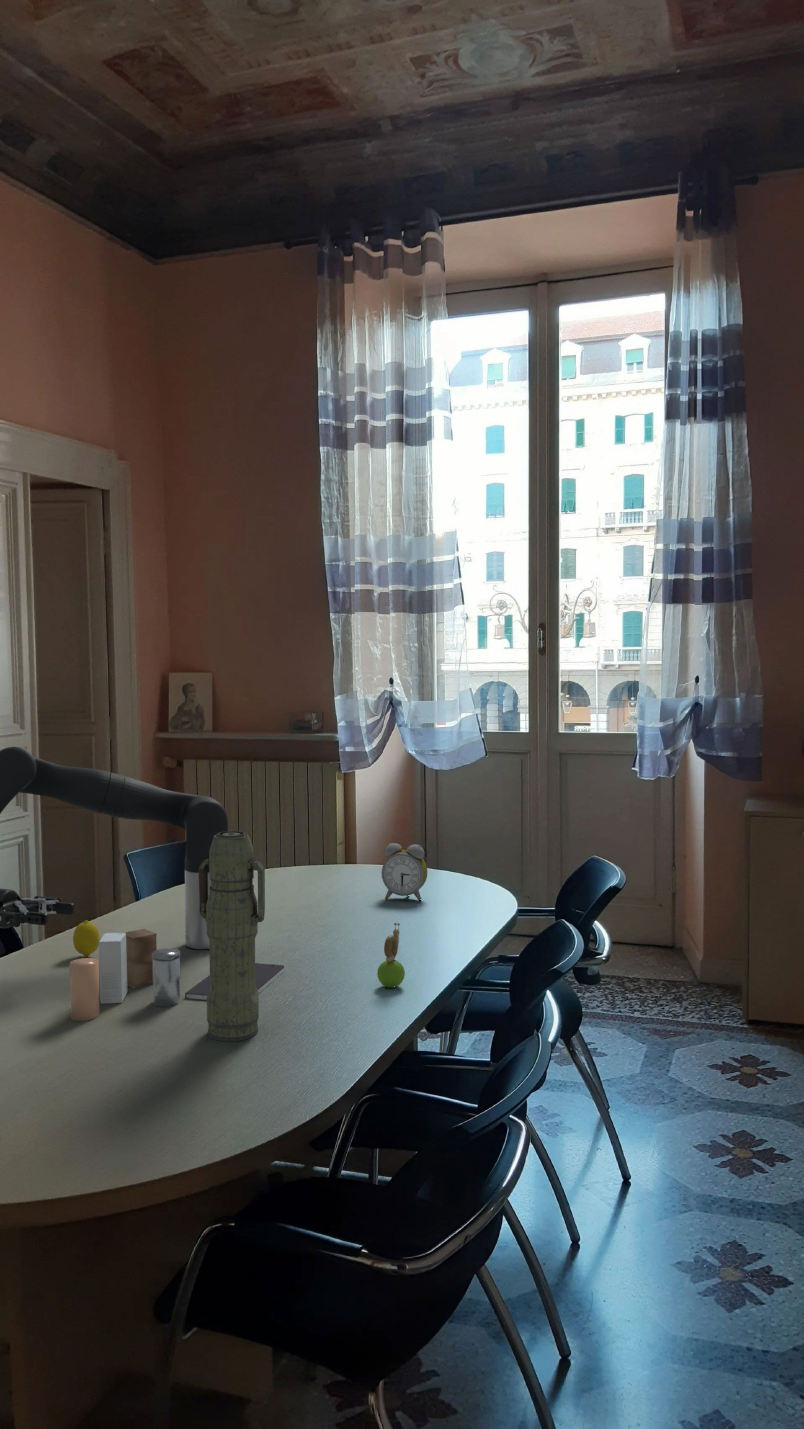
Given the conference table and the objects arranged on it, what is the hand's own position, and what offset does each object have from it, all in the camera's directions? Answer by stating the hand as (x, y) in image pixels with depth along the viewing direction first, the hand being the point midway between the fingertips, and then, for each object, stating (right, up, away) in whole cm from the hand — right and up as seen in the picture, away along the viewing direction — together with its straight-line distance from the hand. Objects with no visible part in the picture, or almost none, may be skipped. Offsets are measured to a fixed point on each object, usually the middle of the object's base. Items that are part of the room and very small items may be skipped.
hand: (60, 914), depth 204 cm
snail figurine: (+64, -16, +5) cm, 66 cm away
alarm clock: (+67, -11, +78) cm, 103 cm away
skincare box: (+11, -16, -2) cm, 19 cm away
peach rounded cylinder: (+8, -16, -12) cm, 22 cm away
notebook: (+33, -16, +7) cm, 37 cm away
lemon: (-2, -14, +25) cm, 29 cm away
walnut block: (+13, -15, +7) cm, 22 cm away
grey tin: (+21, -16, -4) cm, 27 cm away
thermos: (+36, -17, -20) cm, 45 cm away
